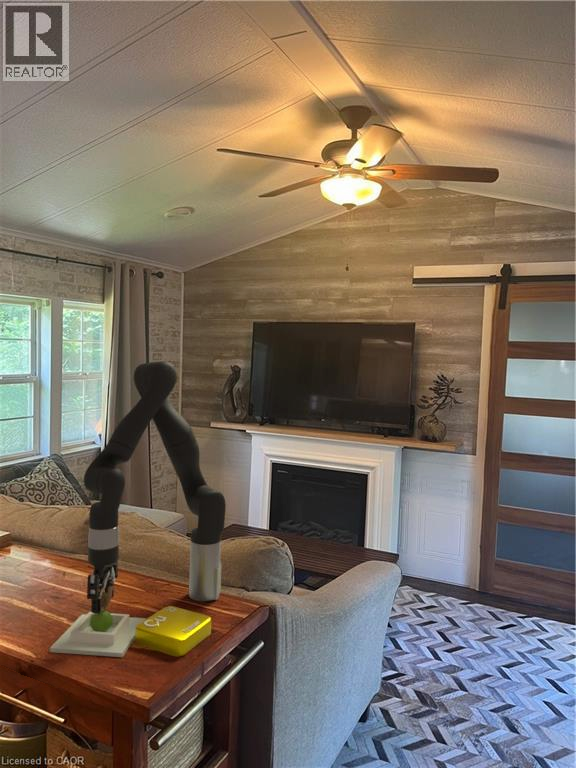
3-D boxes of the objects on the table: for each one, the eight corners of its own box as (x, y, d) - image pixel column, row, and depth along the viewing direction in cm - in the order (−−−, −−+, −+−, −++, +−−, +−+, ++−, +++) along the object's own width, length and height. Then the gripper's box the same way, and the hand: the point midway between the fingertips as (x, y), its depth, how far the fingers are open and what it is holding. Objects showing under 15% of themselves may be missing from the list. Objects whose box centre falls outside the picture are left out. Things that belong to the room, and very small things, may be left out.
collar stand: (146, 621, 150) (146, 609, 149) (122, 657, 132) (122, 643, 131) (82, 617, 151) (82, 605, 150) (49, 652, 133) (50, 638, 133)
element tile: (180, 659, 132) (180, 640, 132) (131, 643, 139) (132, 625, 138) (213, 632, 146) (214, 615, 146) (168, 619, 152) (168, 602, 152)
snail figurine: (119, 627, 144) (120, 583, 143) (101, 638, 138) (102, 592, 137) (103, 622, 146) (104, 578, 146) (85, 633, 140) (86, 587, 140)
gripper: (107, 553, 133) (106, 618, 134) (127, 534, 147) (126, 593, 148) (77, 552, 133) (76, 617, 134) (100, 533, 147) (99, 592, 148)
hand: (102, 604), depth 141 cm, fingers open, 8 cm apart
